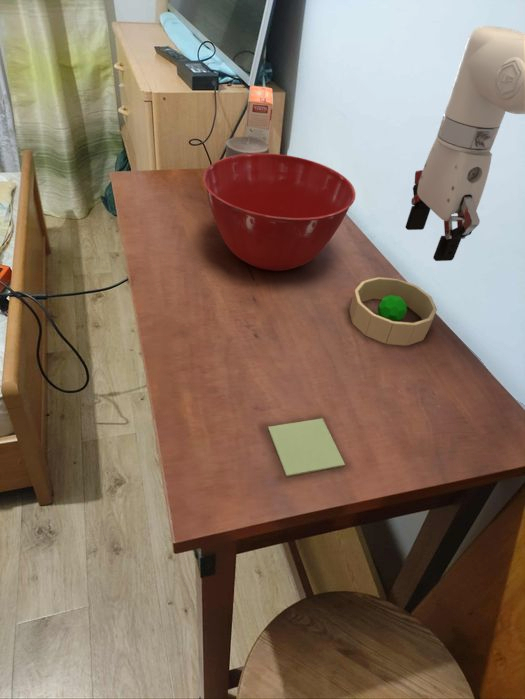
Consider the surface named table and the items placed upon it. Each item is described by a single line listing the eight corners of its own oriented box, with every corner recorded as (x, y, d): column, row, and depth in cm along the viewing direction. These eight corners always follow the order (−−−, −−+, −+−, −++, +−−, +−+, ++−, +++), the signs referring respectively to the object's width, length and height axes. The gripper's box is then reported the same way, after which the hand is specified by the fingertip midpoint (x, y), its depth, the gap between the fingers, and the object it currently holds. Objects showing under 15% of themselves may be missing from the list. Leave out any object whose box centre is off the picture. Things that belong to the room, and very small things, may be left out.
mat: (322, 420, 71) (322, 418, 71) (344, 466, 66) (345, 464, 65) (267, 428, 69) (268, 426, 69) (286, 477, 63) (286, 475, 63)
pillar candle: (257, 193, 127) (263, 130, 117) (267, 210, 120) (275, 146, 110) (218, 193, 124) (221, 130, 114) (227, 212, 117) (231, 145, 107)
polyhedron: (374, 325, 90) (381, 303, 87) (374, 309, 93) (381, 288, 90) (403, 330, 89) (411, 308, 86) (401, 314, 93) (409, 293, 90)
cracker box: (263, 192, 127) (273, 103, 114) (239, 189, 127) (246, 100, 113) (264, 171, 138) (273, 87, 124) (242, 168, 138) (248, 84, 124)
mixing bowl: (330, 306, 93) (348, 229, 83) (181, 274, 95) (181, 196, 85) (345, 236, 114) (361, 168, 104) (222, 212, 117) (226, 143, 107)
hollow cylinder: (436, 315, 94) (444, 295, 91) (414, 356, 84) (423, 335, 81) (366, 289, 98) (371, 269, 95) (338, 324, 89) (343, 303, 86)
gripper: (527, 157, 65) (477, 272, 76) (458, 114, 77) (423, 218, 88) (476, 156, 63) (432, 274, 74) (414, 112, 75) (384, 218, 87)
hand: (427, 243), depth 81 cm, fingers open, 9 cm apart
